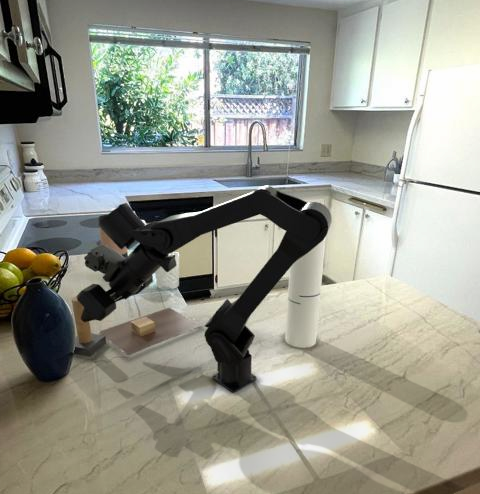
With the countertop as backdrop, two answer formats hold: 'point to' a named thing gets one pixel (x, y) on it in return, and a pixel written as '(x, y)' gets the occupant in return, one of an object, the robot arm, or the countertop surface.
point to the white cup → (168, 275)
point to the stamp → (85, 333)
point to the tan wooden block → (143, 326)
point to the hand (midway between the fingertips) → (96, 310)
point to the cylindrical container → (304, 298)
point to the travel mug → (108, 242)
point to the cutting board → (165, 328)
